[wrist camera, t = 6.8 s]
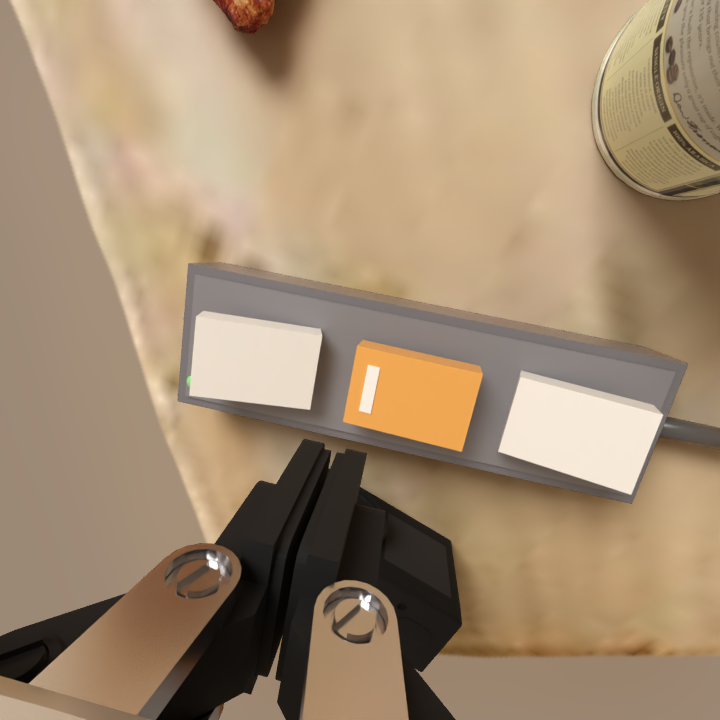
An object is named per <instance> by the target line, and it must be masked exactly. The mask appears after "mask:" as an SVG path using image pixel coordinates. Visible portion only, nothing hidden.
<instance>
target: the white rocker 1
mask: <svg viewBox="0 0 720 720" xmlns="http://www.w3.org/2000/svg"><path fill="white" fill-rule="evenodd" d="M321 341H322V332H321V329H319V328H312V327H306V326H299V325H293V324H286V323H280V322H273V321H267V320H260V319H254V318H247V317H241V316H234V315H228V314H221V313H215V312H208V311H202V312H201V313H200V314H199V315H197V316H196V322H195V333H194V345H193V357H192V369H191V381H190V392H189V396H197V397H206V398H214V399H223V400H231V401H240V402H248V403H257V404H265V405H274V406H282V407H291V408H299V409H308V410H310V407H311V401H312V395H313V389H314V383H315V377H316V371H317V365H318V359H319V353H320V347H321Z"/></svg>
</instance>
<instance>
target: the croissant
mask: <svg viewBox="0 0 720 720" xmlns="http://www.w3.org/2000/svg"><path fill="white" fill-rule="evenodd" d="M213 1H214V2H215V3H216V4H217V5H218V6H219V7H220V8H221V9H222V11H223V12H224V13H225V15H226V16H227V17H228V19H229V20H230V21H231V23H232V24H233V27H234V29H236V30H238V31H241V32H245V33H253V34H254V33H255V32H256V31H257V30H258V29H259V28H260V27H261V24H267V23H268V20H269V17H270V16H272V15H273V11H274V4H275V1H274V0H213Z"/></svg>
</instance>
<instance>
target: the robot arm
mask: <svg viewBox="0 0 720 720" xmlns="http://www.w3.org/2000/svg"><path fill="white" fill-rule="evenodd" d="M324 447H325V444H324V443H320V442H315V441H311V440H307V439H304V440H303V441H302V443H301V444H300V446H299V447H298V449H297V451H296V452H295V454H294V456H293V457H292V459H291V461H290V462H289V464H288V466H287V467H286V469H285V470H284V472H283V474H282V475H281V477H280V479H279V480H278V482H277V484H273V483H268V482H264V481H259V482H258V483H257V484H256V485H255V487H254V488H253V489H252V491H251V492H250V494H249V495H248V497H247V498H246V499H245V501H244V502H243V504H242V505H241V507H240V508H239V510H238V511H237V512H236V514H235V515H234V517H233V518H232V520H231V521H230V522H229V524H228V525H227V527H226V528H225V530H224V531H223V533H222V534H221V535H220V537H219V538H218V540H217V541H216V543H215V544H206V543H199V544H194V545H189V546H185V547H183V548H181V549H178V550H176V551H174V552H173V553H171V554H170V555H169V556H167V557H166V558H164V559H163V560H162V561H161V562H160V563H159V564H158V565H157V566H156V567H155V568H154V569H153V570H151V571H150V572H149V573H148V574H147V575H146V576H145V577H144V578H143V579H142V580H141V581H140V582H139V583H138V584H136V585H135V586H134V587H133V588H132V589H131V590H130V591H129V592H128V593H126V594H123V595H120V596H117V597H114V598H111V599H108V600H105V601H101V602H98V603H96V604H92V605H89V606H86V607H84V608H80V609H77V610H74V611H71V612H68V613H65V614H62V615H59V616H56V617H53V618H50V619H47V620H44V621H41V622H38V623H35V624H32V625H29V626H26V627H23V628H20V629H17V630H14V631H12V632H9V633H7V634H5V635H2V636H0V720H219V718H220V716H221V713H222V711H223V708H224V703H225V702H227V701H229V700H231V699H232V698H234V697H236V696H238V695H240V694H242V693H243V692H244V693H248V694H251V693H252V690H253V688H254V685H255V682H256V680H257V677H258V675H261V676H265V677H267V676H268V675H269V672H270V669H271V667H272V664H273V661H274V658H275V655H276V653H277V650H278V647H279V644H280V641H281V638H282V642H281V648H280V654H279V661H278V666H277V672H276V680H279V681H281V683H280V689H279V695H278V701H277V703H278V705H279V707H280V709H281V711H282V713H283V715H284V717H285V719H286V720H455V718H454V717H453V716H452V715H451V713H450V712H449V711H448V710H447V708H446V707H445V706H444V705H443V703H442V702H441V701H440V700H439V698H438V697H437V696H436V695H435V693H434V692H433V691H432V690H431V689H430V687H429V686H428V685H427V683H426V682H425V681H424V680H423V678H422V677H421V676H420V675H419V673H418V672H417V671H416V670H415V668H414V667H413V666H412V665H411V663H410V662H409V661H408V660H407V659H406V657H405V656H404V655H403V654H402V652H401V649H400V640H399V632H398V623H397V617H396V614H395V610H394V607H393V606H392V604H391V603H390V601H389V599H388V598H387V597H386V596H385V595H384V594H383V593H382V592H381V591H379V590H378V589H377V580H378V571H379V563H380V555H381V547H382V538H383V530H384V522H385V513H386V512H385V511H384V510H380V509H376V508H372V507H368V506H363V505H359V504H356V503H357V498H358V493H359V488H360V484H361V479H362V474H363V469H364V464H365V460H366V454H367V453H363V452H358V451H354V450H350V449H346V451H345V454H342V453H338V452H337V454H336V456H335V459H334V461H333V464H332V466H331V469H330V471H329V474H328V476H327V473H328V467H329V462H330V456H331V451H330V450H325V449H324ZM326 478H327V479H326ZM282 636H283V637H282Z"/></svg>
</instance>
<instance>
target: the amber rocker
mask: <svg viewBox="0 0 720 720" xmlns="http://www.w3.org/2000/svg"><path fill="white" fill-rule="evenodd" d="M482 376H483V372H482V370H481V367H480V366H478V365H474V364H469V363H465V362H460V361H456V360H451V359H447V358H442V357H438V356H433V355H429V354H424V353H420V352H415V351H411V350H406V349H402V348H398V347H393V346H389V345H384V344H380V343H375V342H371V341H366V340H362V341H361V342H360V343H359V344H358V345H357V349H356V354H355V360H354V365H353V370H352V376H351V381H350V386H349V392H348V397H347V402H346V407H345V413H344V418H343V422H345V423H349V424H353V425H357V426H361V427H365V428H369V429H373V430H377V431H381V432H385V433H389V434H393V435H397V436H401V437H405V438H409V439H413V440H417V441H421V442H425V443H429V444H432V445H436V446H440V447H444V448H448V449H452V450H456V451H460V452H462V449H463V446H464V442H465V438H466V435H467V431H468V427H469V424H470V420H471V417H472V413H473V409H474V406H475V402H476V398H477V395H478V391H479V387H480V384H481V380H482Z"/></svg>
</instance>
